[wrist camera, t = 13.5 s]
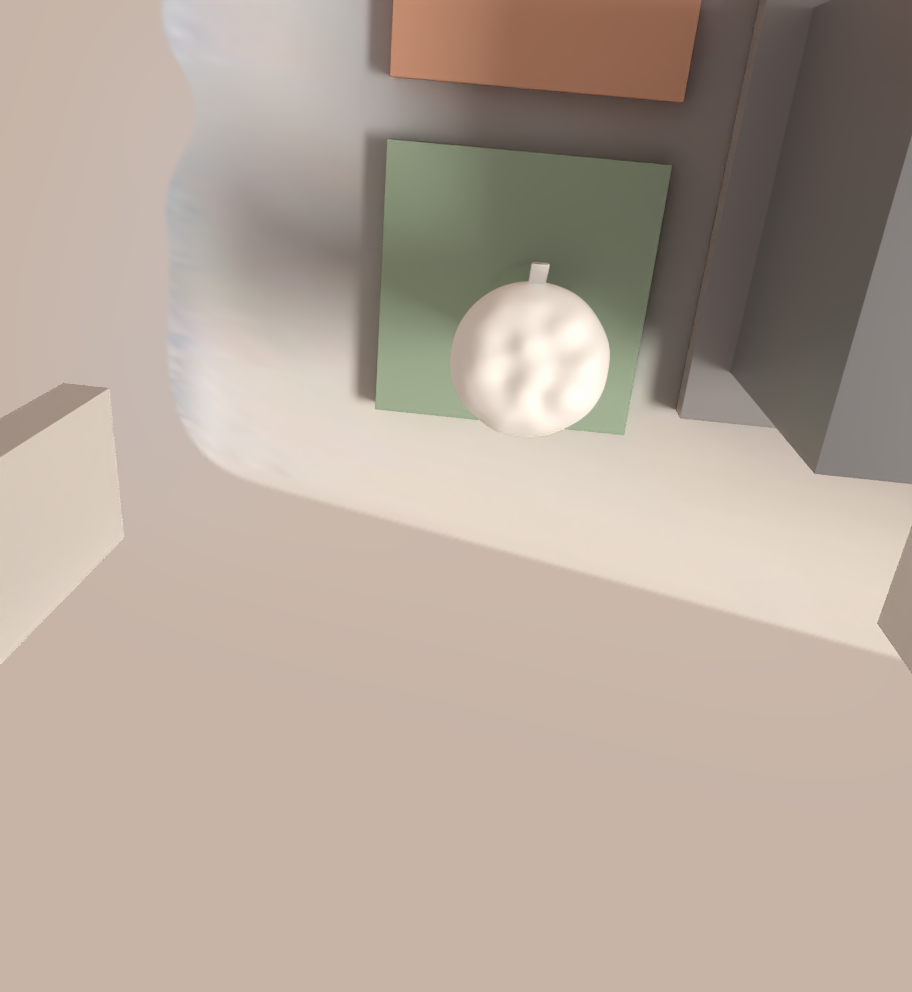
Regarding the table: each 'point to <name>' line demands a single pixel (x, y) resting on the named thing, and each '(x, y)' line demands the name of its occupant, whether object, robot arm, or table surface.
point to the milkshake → (529, 354)
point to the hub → (815, 243)
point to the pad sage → (509, 258)
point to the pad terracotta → (549, 44)
